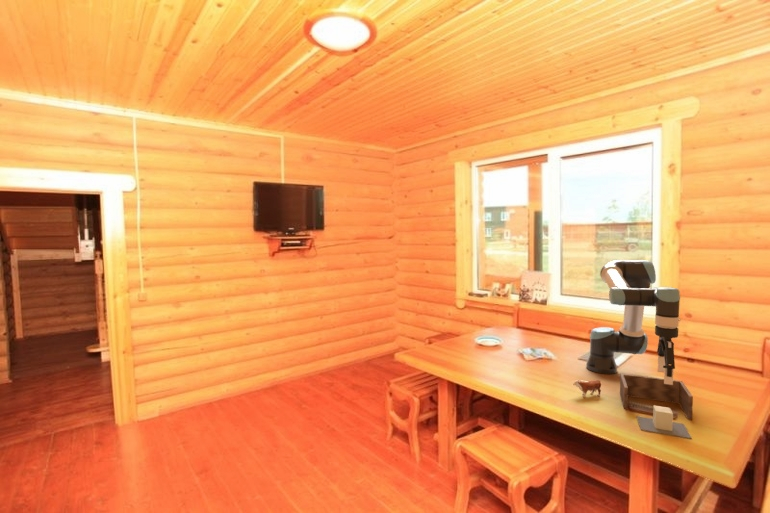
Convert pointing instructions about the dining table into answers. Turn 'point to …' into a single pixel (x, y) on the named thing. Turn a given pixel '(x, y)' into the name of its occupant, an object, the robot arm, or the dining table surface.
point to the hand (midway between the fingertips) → (664, 377)
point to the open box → (656, 391)
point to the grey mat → (648, 425)
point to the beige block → (662, 418)
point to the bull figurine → (588, 386)
